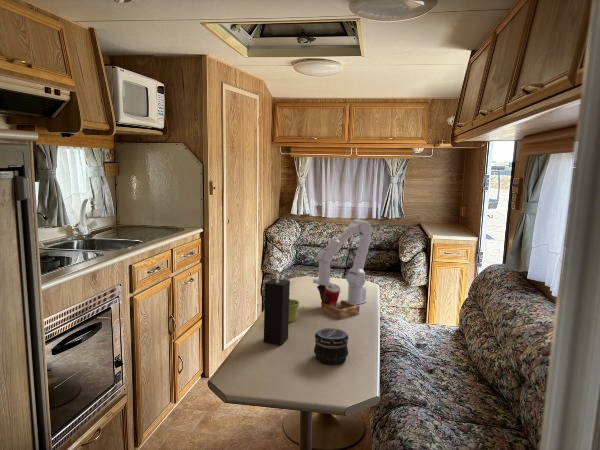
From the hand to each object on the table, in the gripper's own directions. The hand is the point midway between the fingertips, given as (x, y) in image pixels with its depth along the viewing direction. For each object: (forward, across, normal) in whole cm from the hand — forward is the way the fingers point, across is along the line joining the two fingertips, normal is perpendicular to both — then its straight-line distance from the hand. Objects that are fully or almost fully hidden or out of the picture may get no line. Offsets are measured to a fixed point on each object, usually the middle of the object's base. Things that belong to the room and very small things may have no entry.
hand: (323, 299), depth 223 cm
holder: (+3, +13, 0) cm, 13 cm away
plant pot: (+4, +7, -28) cm, 29 cm away
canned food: (+2, +4, 0) cm, 5 cm away
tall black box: (+4, +23, -46) cm, 52 cm away
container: (+4, +48, -39) cm, 62 cm away
